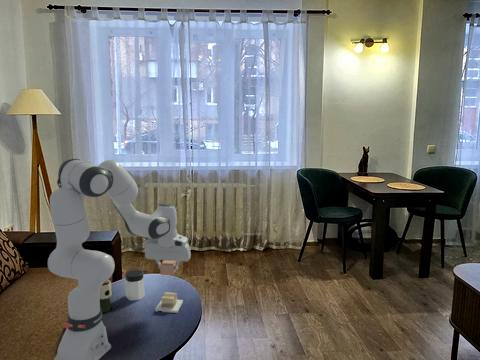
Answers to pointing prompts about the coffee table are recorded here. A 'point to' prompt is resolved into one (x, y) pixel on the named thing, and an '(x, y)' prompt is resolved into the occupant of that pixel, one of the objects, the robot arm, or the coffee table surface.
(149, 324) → the coffee table surface
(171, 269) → the terracotta block
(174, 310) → the base plate
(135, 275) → the jar
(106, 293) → the character mug
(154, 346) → the coffee table surface
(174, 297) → the maple block
